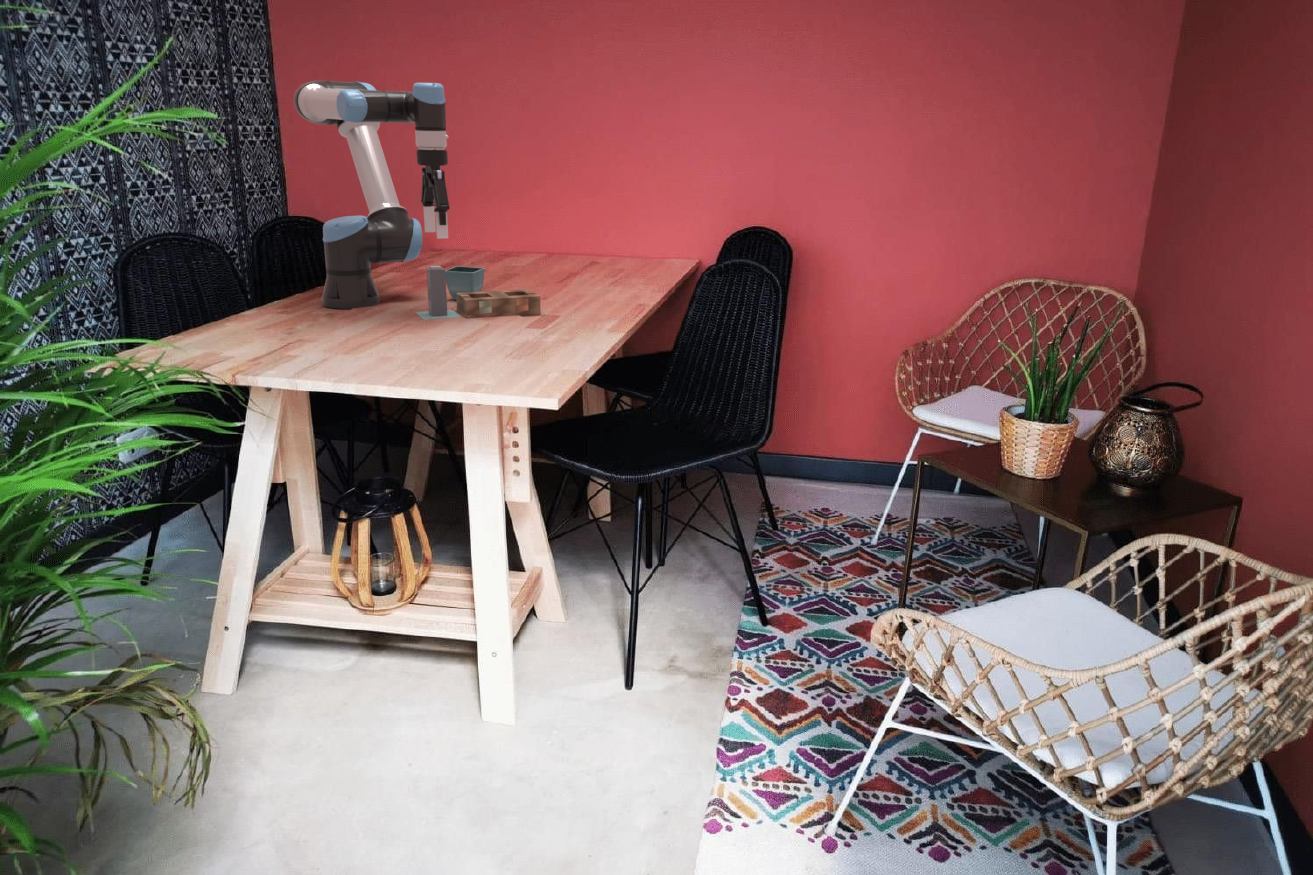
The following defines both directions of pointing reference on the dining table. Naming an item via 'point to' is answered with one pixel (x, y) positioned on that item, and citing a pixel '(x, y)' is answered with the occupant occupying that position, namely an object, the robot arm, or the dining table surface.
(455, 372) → the dining table surface
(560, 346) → the dining table surface
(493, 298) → the socket block
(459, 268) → the flower pot
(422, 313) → the mat
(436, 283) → the plug
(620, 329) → the dining table surface
